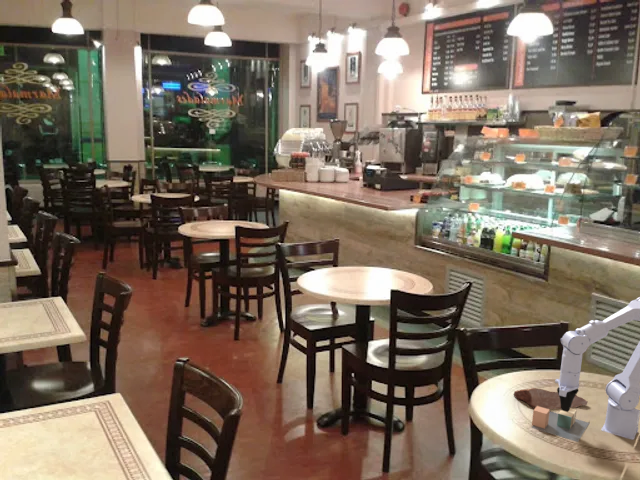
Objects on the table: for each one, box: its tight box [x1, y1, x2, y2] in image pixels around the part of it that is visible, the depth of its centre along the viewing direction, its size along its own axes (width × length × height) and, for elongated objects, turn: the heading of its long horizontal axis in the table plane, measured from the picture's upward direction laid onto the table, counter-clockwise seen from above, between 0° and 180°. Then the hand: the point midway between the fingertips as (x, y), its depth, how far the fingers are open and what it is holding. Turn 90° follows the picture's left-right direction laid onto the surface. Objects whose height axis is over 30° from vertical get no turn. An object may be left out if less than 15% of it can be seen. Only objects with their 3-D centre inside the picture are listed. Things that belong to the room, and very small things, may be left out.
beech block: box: [557, 407, 577, 429], centre depth 201 cm, size 4×4×7 cm
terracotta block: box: [531, 406, 551, 429], centre depth 199 cm, size 4×4×5 cm
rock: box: [513, 387, 588, 410], centre depth 217 cm, size 10×24×10 cm
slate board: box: [531, 410, 590, 443], centre depth 200 cm, size 14×16×1 cm
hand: (565, 410), depth 197 cm, fingers closed
